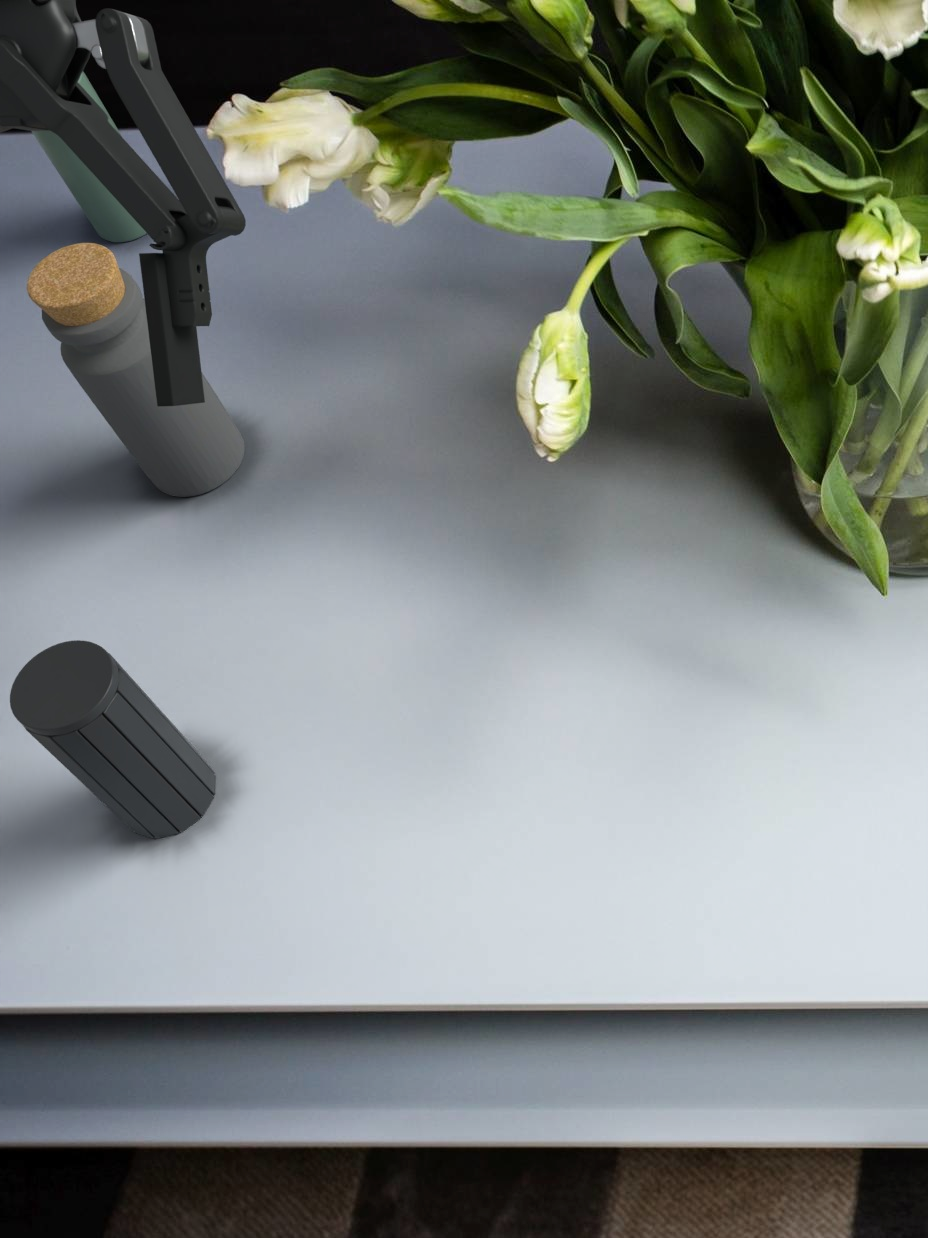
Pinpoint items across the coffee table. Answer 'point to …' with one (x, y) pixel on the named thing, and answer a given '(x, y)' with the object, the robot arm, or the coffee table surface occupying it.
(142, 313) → the bottle
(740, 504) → the coffee table surface
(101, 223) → the spray can
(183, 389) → the robot arm
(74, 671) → the dark grey grooved cylinder
